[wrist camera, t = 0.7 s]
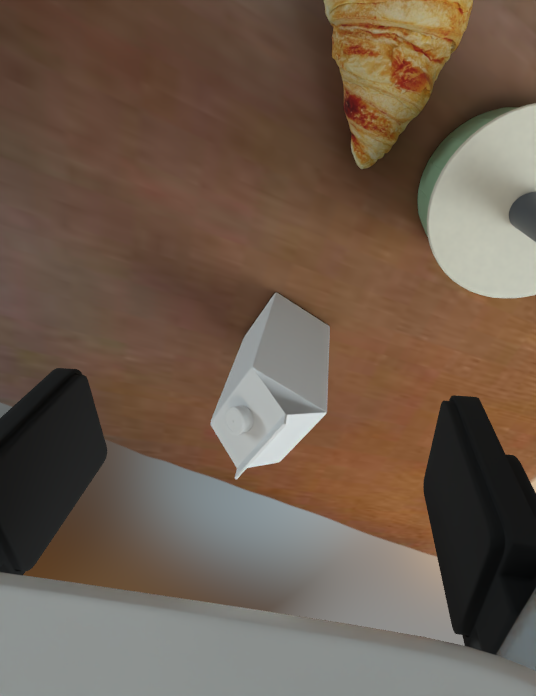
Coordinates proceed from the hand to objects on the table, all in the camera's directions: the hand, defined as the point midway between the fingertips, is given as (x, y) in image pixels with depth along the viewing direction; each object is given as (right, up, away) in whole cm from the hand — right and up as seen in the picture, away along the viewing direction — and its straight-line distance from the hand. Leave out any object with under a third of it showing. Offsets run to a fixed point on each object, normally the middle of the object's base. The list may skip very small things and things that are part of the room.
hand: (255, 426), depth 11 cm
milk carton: (+2, +4, +36) cm, 36 cm away
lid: (+19, +12, +19) cm, 30 cm away
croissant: (+10, +27, +21) cm, 36 cm away
